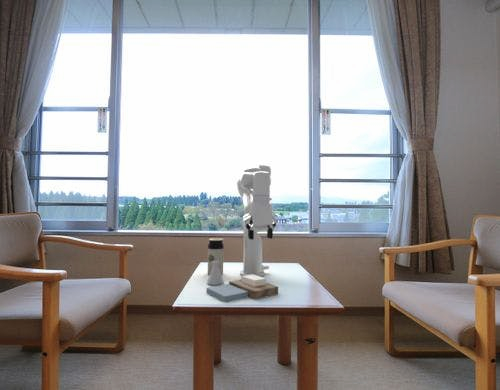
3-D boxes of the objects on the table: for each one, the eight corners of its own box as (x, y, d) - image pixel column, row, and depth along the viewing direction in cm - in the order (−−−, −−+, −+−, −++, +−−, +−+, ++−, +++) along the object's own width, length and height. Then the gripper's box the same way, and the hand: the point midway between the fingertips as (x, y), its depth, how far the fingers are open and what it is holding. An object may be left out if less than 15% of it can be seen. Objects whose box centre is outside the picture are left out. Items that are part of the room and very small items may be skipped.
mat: (228, 288, 133) (228, 283, 133) (247, 296, 122) (248, 291, 122) (206, 292, 127) (206, 287, 127) (224, 301, 115) (224, 296, 115)
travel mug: (217, 271, 166) (217, 237, 166) (226, 274, 160) (226, 239, 160) (204, 273, 160) (205, 238, 161) (213, 276, 155) (214, 240, 155)
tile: (252, 279, 136) (252, 274, 136) (265, 284, 129) (265, 278, 129) (241, 281, 133) (241, 276, 133) (254, 286, 126) (254, 280, 126)
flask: (214, 287, 135) (215, 264, 136) (203, 284, 140) (204, 261, 140) (226, 283, 141) (226, 261, 141) (215, 281, 146) (216, 259, 146)
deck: (251, 284, 140) (251, 277, 140) (278, 294, 126) (278, 286, 126) (229, 288, 133) (229, 281, 133) (254, 299, 119) (254, 291, 119)
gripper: (272, 200, 144) (272, 237, 144) (239, 199, 135) (239, 238, 135) (282, 200, 138) (281, 238, 137) (248, 199, 129) (247, 240, 128)
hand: (260, 238), depth 136 cm, fingers open, 9 cm apart
